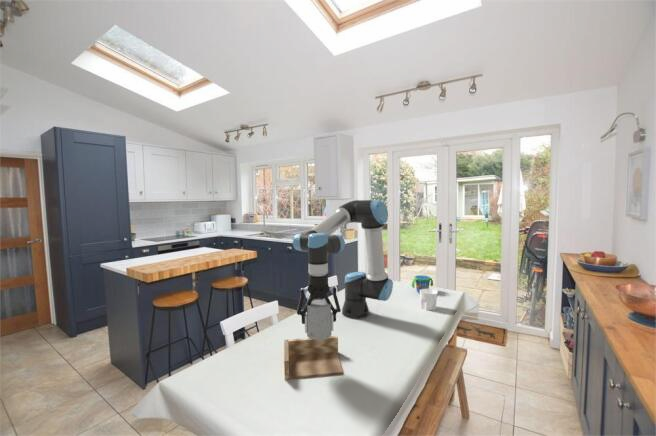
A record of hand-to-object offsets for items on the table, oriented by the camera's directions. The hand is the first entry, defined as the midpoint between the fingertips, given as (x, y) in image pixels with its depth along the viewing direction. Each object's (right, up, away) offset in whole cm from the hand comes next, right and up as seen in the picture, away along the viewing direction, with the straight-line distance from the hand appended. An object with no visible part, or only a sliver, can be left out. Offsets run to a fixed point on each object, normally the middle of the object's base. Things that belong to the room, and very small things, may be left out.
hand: (319, 330), depth 119 cm
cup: (+62, -9, +62) cm, 88 cm away
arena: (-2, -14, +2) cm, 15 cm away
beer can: (0, -2, 0) cm, 2 cm away
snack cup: (+68, -7, +91) cm, 114 cm away
